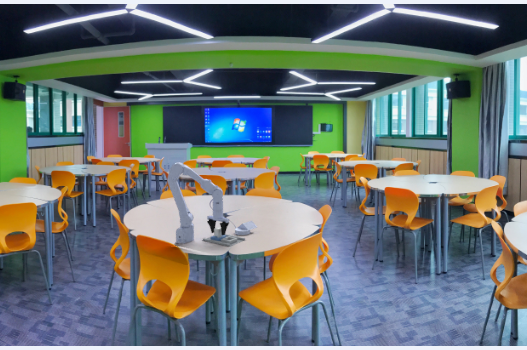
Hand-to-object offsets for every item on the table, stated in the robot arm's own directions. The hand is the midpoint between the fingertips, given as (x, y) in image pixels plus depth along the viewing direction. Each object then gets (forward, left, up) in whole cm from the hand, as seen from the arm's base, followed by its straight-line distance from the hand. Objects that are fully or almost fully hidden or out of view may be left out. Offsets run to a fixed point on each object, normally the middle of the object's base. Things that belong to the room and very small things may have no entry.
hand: (218, 233), depth 192 cm
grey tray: (0, -4, -4) cm, 6 cm away
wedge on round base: (+19, -4, -4) cm, 20 cm away
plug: (0, 0, -3) cm, 3 cm away
